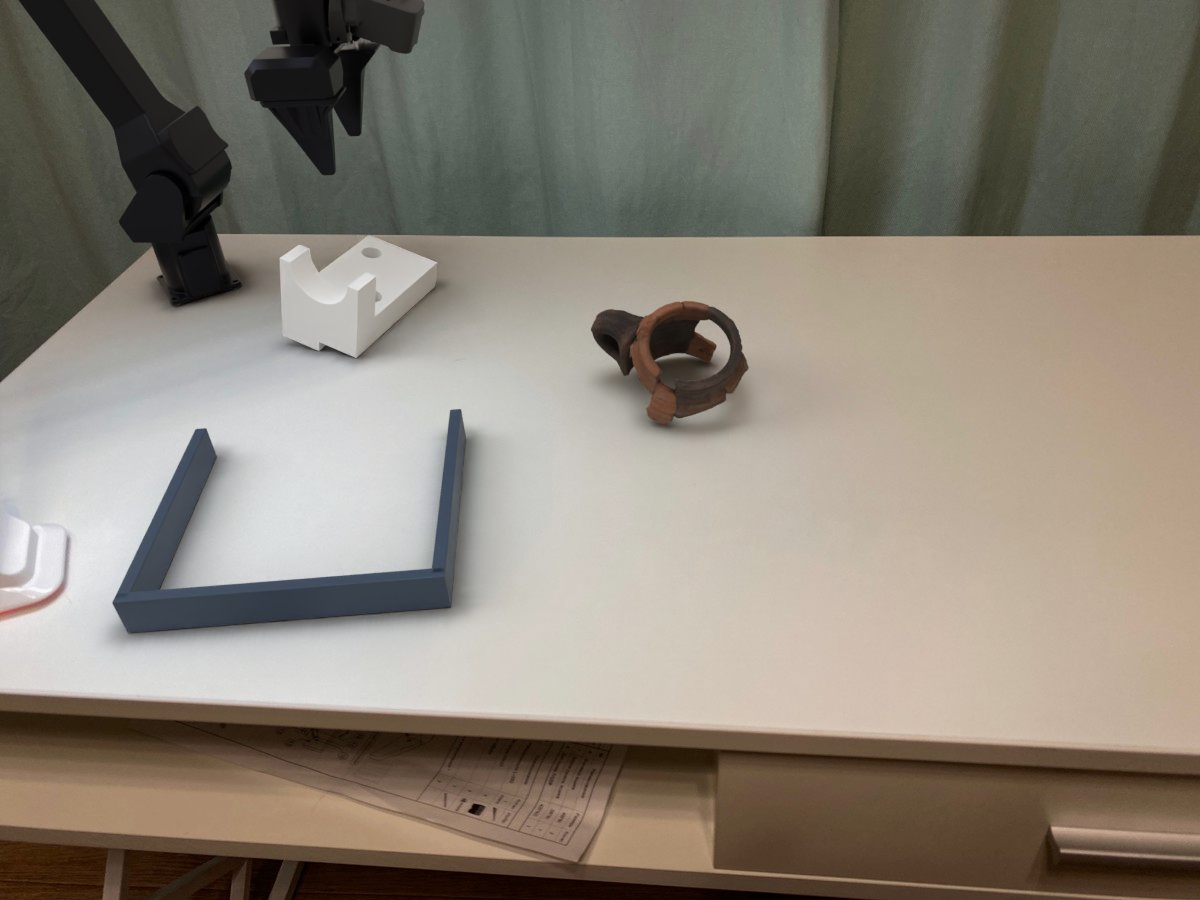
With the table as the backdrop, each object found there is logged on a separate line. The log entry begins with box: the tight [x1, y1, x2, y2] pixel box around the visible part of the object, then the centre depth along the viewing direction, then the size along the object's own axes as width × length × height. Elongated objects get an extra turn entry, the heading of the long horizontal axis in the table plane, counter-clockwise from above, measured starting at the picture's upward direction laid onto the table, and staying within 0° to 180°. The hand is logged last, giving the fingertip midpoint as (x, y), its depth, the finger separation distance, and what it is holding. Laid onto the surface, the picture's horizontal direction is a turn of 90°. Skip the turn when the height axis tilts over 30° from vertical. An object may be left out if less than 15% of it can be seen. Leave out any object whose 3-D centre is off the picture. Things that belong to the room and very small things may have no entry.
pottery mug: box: [590, 300, 750, 426], centre depth 70 cm, size 12×10×8 cm
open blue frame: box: [111, 408, 467, 634], centre depth 60 cm, size 17×19×2 cm
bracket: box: [279, 234, 438, 359], centre depth 81 cm, size 13×7×8 cm, turn 158°
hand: (342, 154), depth 80 cm, fingers open, 9 cm apart
